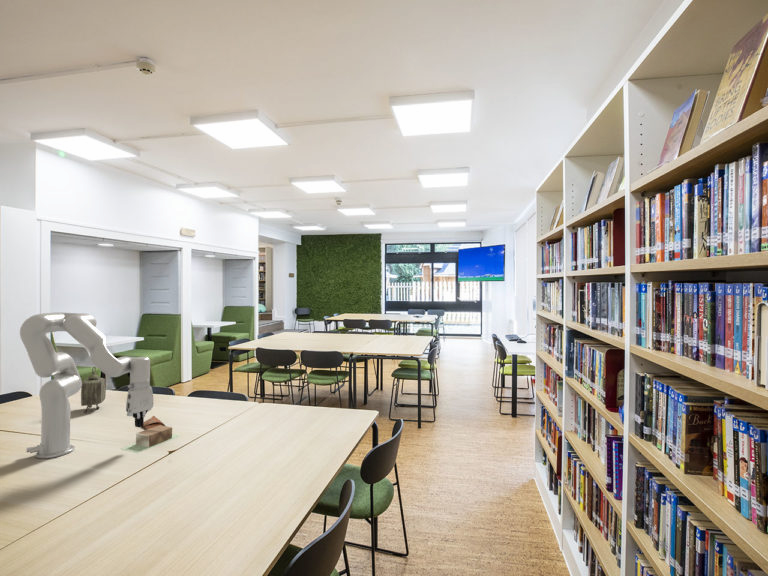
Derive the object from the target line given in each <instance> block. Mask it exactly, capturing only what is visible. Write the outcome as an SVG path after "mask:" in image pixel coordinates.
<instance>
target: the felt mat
mask: <svg viewBox="0 0 768 576" xmlns="http://www.w3.org/2000/svg"><path fill="white" fill-rule="evenodd" d="M179 437H180V438H181V435H179V434H175V433H172V438H171V439H168V440H166V441H163V442H161V443H158V444H155V445H153V446H150V447H145V446H141V445H136V442H135V443H132V444H129V445H127V446H124V447H121V448H120V450H123V451H128V452H131V453H136V454H139V453H142V452H144V451H147V450H150V449H152V448H154V447H156V446H159V445H162V444H164V443H167V442H169V441H172V440H175V439H178V438H179Z"/></svg>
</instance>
